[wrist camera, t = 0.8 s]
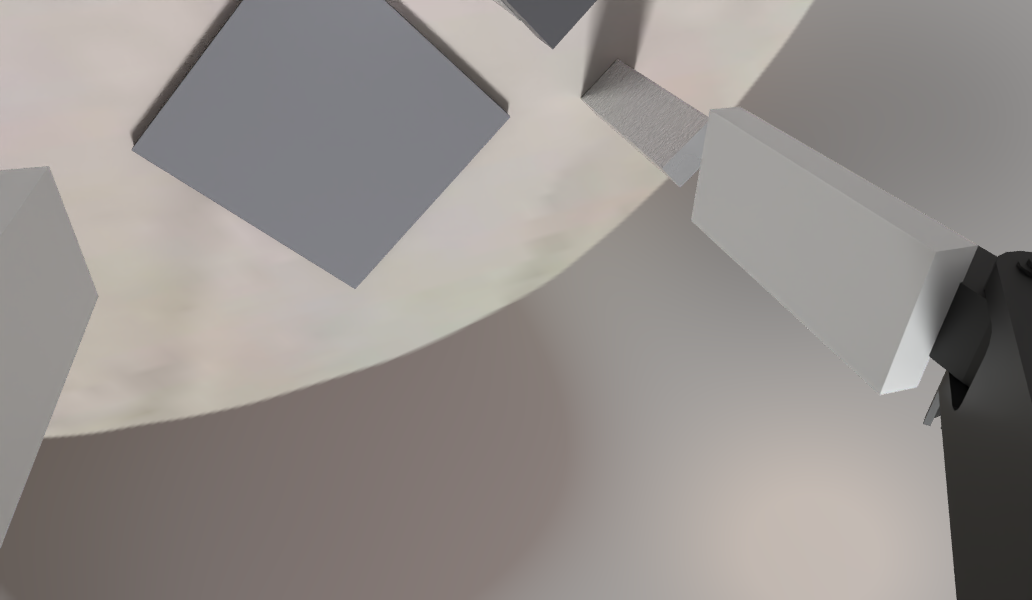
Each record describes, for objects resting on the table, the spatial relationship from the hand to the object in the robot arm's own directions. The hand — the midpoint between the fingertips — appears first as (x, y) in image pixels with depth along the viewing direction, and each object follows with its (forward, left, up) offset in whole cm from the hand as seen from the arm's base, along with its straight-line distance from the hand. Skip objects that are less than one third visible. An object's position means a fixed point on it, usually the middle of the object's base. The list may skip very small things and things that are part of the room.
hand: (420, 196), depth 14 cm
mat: (+4, -6, -25) cm, 26 cm away
